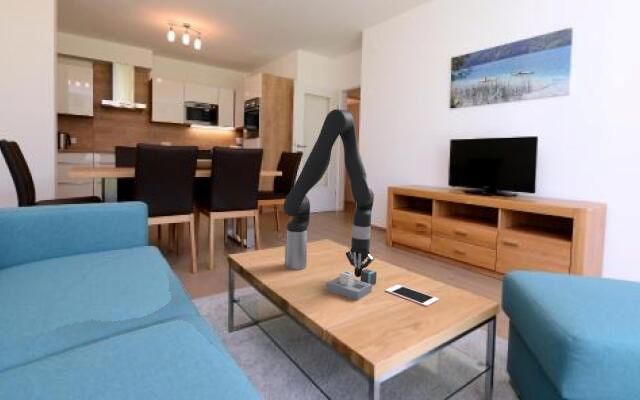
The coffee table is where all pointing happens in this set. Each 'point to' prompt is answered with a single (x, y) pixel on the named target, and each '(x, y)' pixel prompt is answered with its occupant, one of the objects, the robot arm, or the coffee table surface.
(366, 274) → the grey and blue block
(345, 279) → the block
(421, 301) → the cell phone
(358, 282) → the outlet
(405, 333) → the coffee table surface
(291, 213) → the robot arm
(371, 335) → the coffee table surface
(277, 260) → the coffee table surface
